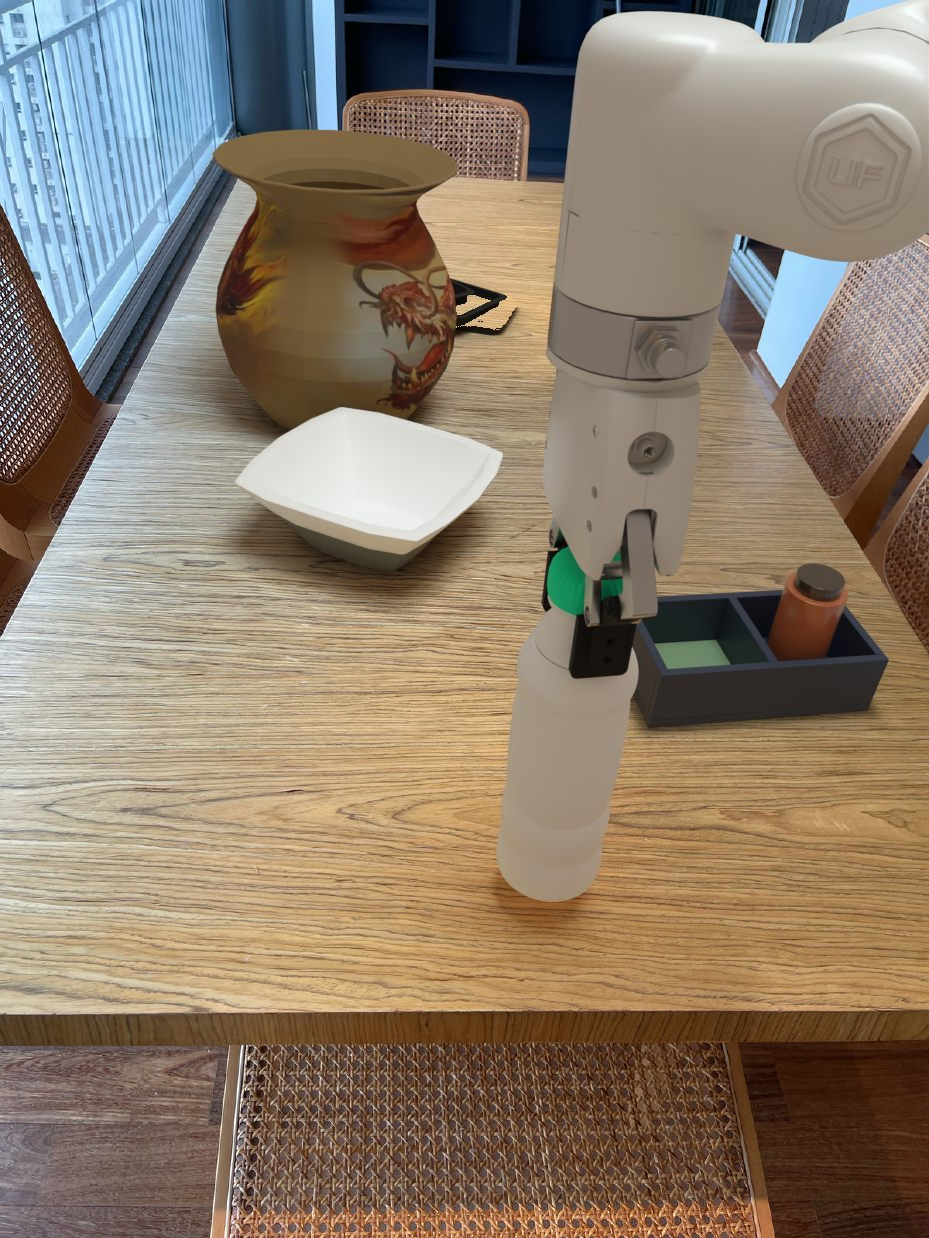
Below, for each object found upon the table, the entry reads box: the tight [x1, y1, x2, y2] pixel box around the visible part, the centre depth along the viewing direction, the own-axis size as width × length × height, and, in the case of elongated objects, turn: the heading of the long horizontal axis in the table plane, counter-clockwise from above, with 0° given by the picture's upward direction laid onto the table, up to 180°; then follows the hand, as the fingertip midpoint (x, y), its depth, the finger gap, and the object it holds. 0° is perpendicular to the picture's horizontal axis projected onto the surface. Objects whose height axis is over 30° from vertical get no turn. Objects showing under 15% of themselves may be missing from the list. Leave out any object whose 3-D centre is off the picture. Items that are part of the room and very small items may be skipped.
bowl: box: [234, 407, 504, 573], centre depth 102 cm, size 22×23×8 cm
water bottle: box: [495, 546, 639, 903], centre depth 61 cm, size 7×7×25 cm
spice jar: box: [766, 562, 849, 661], centre depth 88 cm, size 5×5×10 cm
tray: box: [450, 277, 507, 336], centre depth 155 cm, size 30×23×5 cm
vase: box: [212, 129, 458, 431], centre depth 120 cm, size 29×29×30 cm
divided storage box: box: [632, 589, 890, 729], centre depth 89 cm, size 11×20×6 cm, turn 100°
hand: (582, 637), depth 57 cm, fingers closed on water bottle, 5 cm apart
